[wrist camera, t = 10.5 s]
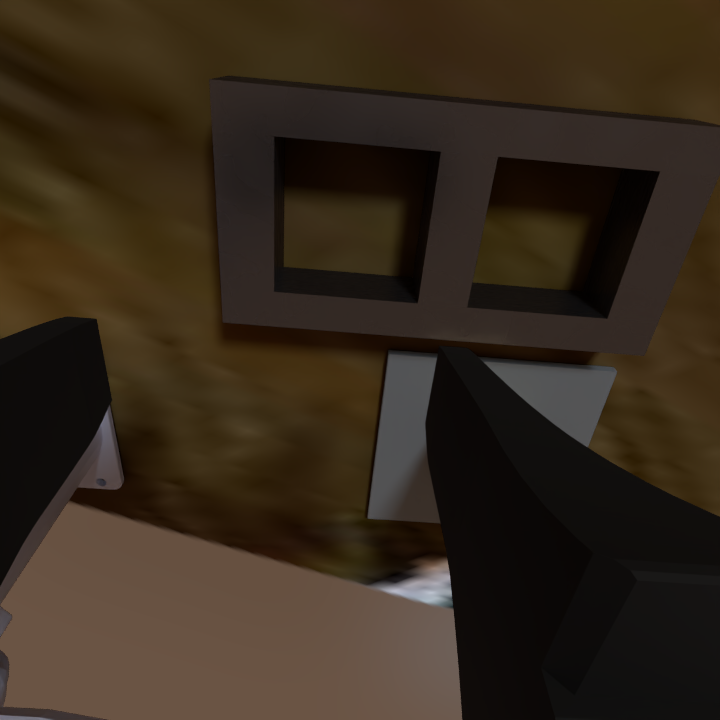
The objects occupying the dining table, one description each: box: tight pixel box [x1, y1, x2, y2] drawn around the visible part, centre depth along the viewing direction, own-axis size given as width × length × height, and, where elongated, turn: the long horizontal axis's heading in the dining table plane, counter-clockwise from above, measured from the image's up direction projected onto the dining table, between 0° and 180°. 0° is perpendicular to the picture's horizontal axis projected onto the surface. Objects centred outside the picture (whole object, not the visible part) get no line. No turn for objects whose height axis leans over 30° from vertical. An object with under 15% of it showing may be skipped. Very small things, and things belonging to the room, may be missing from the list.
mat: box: [368, 350, 617, 523], centre depth 25 cm, size 10×10×1 cm
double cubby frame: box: [209, 76, 720, 356], centre depth 19 cm, size 16×8×2 cm, turn 85°
